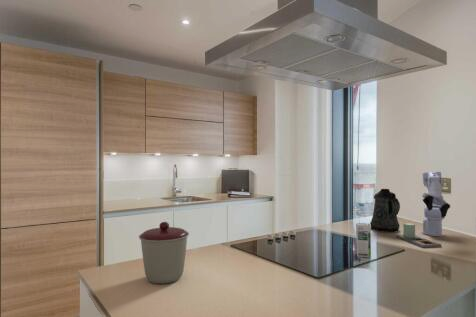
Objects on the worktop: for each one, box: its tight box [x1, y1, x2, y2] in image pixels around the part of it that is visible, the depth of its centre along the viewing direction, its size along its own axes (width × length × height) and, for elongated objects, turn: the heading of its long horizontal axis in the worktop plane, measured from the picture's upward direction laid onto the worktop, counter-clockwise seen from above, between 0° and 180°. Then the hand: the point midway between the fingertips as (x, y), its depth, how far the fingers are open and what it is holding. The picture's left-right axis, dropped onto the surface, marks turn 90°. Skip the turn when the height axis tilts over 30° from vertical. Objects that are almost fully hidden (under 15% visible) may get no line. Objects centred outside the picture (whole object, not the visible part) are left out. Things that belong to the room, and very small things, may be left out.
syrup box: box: [355, 222, 372, 258], centre depth 144 cm, size 6×6×14 cm
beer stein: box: [369, 188, 401, 233], centre depth 195 cm, size 16×19×25 cm
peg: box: [402, 222, 416, 238], centre depth 173 cm, size 4×4×8 cm
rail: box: [395, 234, 442, 249], centre depth 167 cm, size 21×10×1 cm, turn 7°
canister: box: [138, 221, 190, 285], centre depth 118 cm, size 18×18×21 cm
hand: (437, 213), depth 163 cm, fingers open, 7 cm apart
